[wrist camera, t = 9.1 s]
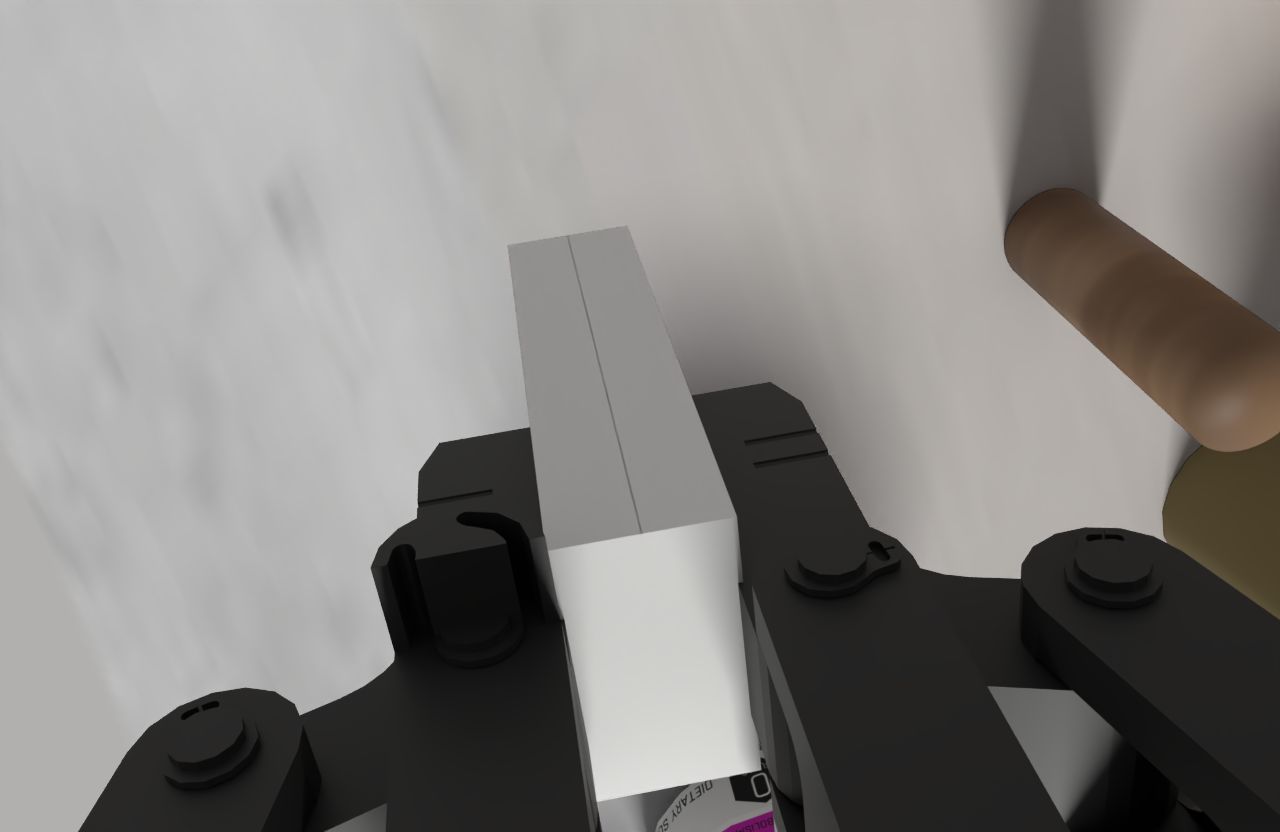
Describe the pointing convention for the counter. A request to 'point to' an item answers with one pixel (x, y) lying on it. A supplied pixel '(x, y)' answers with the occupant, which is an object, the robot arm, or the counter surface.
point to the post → (1152, 318)
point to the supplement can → (723, 805)
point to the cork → (1231, 517)
